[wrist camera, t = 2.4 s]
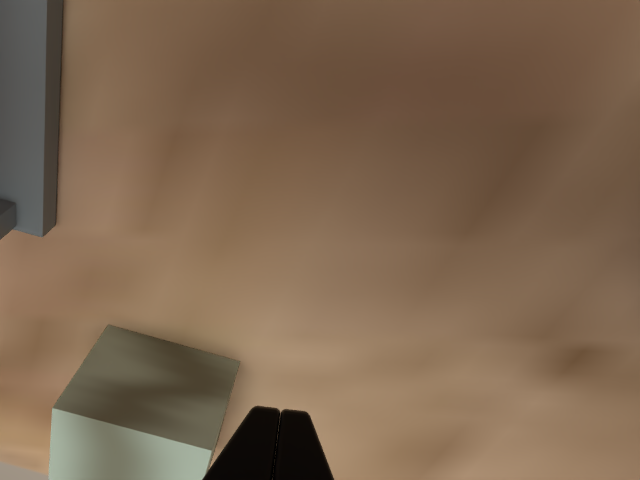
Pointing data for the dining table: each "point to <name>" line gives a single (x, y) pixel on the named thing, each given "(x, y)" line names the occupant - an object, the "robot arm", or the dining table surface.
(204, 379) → the sage block
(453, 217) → the dining table surface
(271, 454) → the robot arm
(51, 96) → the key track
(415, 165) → the dining table surface
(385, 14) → the dining table surface
